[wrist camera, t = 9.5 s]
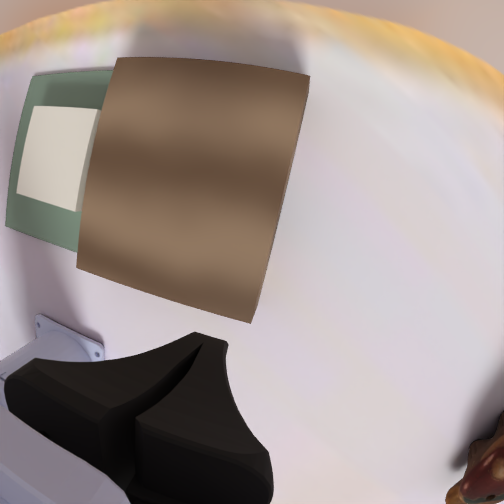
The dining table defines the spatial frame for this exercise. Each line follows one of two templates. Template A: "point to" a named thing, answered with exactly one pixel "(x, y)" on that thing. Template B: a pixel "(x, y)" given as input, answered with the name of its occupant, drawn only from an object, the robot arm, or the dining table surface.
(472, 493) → the decorative turtle
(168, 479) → the robot arm
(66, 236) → the rubber mat
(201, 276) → the walnut step
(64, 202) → the coaster
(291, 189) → the dining table surface
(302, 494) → the dining table surface
